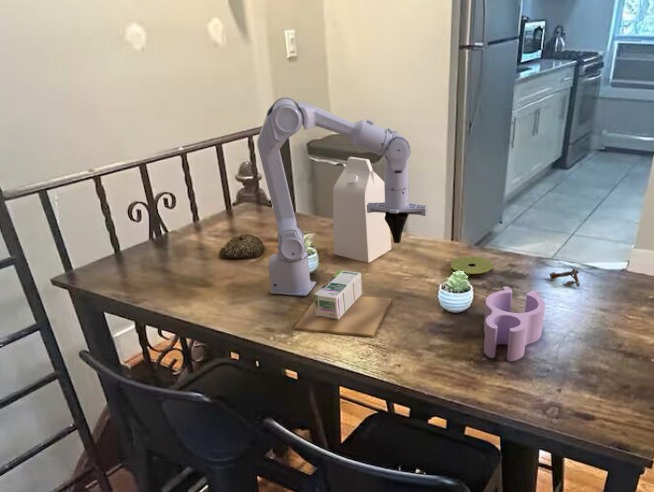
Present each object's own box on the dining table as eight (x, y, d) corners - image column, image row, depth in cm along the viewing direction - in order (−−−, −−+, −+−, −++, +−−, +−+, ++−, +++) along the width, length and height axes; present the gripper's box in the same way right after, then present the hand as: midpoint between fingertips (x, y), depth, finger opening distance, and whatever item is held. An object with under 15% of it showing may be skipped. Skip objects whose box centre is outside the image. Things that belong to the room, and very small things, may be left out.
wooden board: (294, 329, 133) (294, 327, 133) (320, 294, 148) (320, 292, 148) (372, 337, 130) (372, 334, 129) (391, 300, 145) (391, 298, 144)
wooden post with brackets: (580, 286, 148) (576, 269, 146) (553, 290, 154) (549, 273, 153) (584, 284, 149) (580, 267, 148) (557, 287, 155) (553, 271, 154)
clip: (530, 365, 120) (534, 334, 116) (470, 354, 123) (472, 324, 120) (546, 320, 135) (549, 292, 132) (491, 311, 139) (494, 284, 135)
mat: (481, 283, 152) (482, 276, 151) (442, 274, 157) (442, 267, 156) (499, 268, 160) (500, 261, 159) (461, 259, 165) (462, 253, 164)
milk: (391, 249, 173) (389, 156, 159) (368, 262, 164) (364, 166, 151) (357, 241, 178) (353, 151, 164) (333, 254, 170) (326, 160, 156)
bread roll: (260, 260, 167) (257, 243, 164) (216, 260, 167) (213, 243, 165) (269, 243, 178) (267, 227, 175) (228, 243, 178) (225, 227, 176)
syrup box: (361, 272, 144) (336, 296, 132) (362, 294, 147) (338, 320, 135) (339, 269, 145) (312, 293, 134) (341, 291, 148) (315, 317, 137)
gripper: (362, 190, 140) (365, 245, 147) (423, 193, 137) (423, 249, 145) (370, 182, 146) (372, 235, 153) (428, 185, 143) (428, 239, 150)
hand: (397, 241), depth 149 cm, fingers closed
